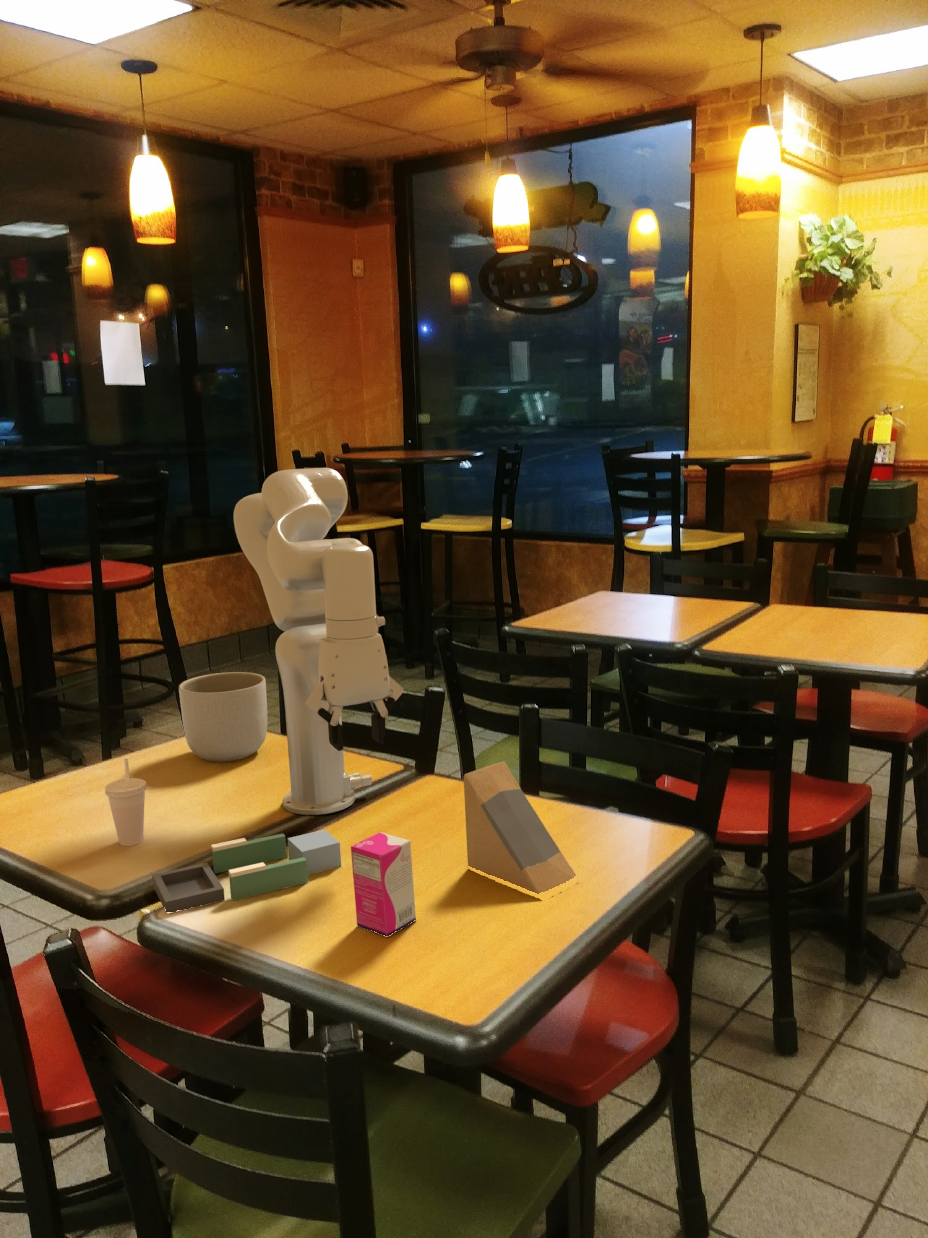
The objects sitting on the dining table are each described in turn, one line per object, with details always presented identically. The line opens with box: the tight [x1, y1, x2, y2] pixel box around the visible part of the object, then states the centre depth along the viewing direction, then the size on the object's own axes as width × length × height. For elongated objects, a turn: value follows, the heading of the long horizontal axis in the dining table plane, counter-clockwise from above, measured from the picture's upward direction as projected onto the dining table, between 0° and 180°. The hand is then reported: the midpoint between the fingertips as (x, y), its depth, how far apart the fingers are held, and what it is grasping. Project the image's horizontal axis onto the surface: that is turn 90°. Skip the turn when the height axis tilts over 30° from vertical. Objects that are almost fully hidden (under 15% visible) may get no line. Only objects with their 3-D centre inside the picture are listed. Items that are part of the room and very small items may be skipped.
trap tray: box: [151, 862, 226, 913], centre depth 146 cm, size 8×10×2 cm
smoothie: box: [104, 758, 147, 847], centre depth 164 cm, size 6×6×14 cm
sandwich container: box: [463, 760, 577, 894], centre depth 147 cm, size 9×15×15 cm, turn 43°
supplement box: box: [350, 832, 417, 936], centre depth 134 cm, size 6×6×12 cm
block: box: [287, 829, 342, 876], centre depth 155 cm, size 6×6×4 cm
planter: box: [178, 671, 268, 763], centre depth 207 cm, size 17×17×15 cm
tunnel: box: [210, 833, 309, 901], centre depth 151 cm, size 11×12×4 cm
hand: (358, 743), depth 155 cm, fingers open, 5 cm apart
